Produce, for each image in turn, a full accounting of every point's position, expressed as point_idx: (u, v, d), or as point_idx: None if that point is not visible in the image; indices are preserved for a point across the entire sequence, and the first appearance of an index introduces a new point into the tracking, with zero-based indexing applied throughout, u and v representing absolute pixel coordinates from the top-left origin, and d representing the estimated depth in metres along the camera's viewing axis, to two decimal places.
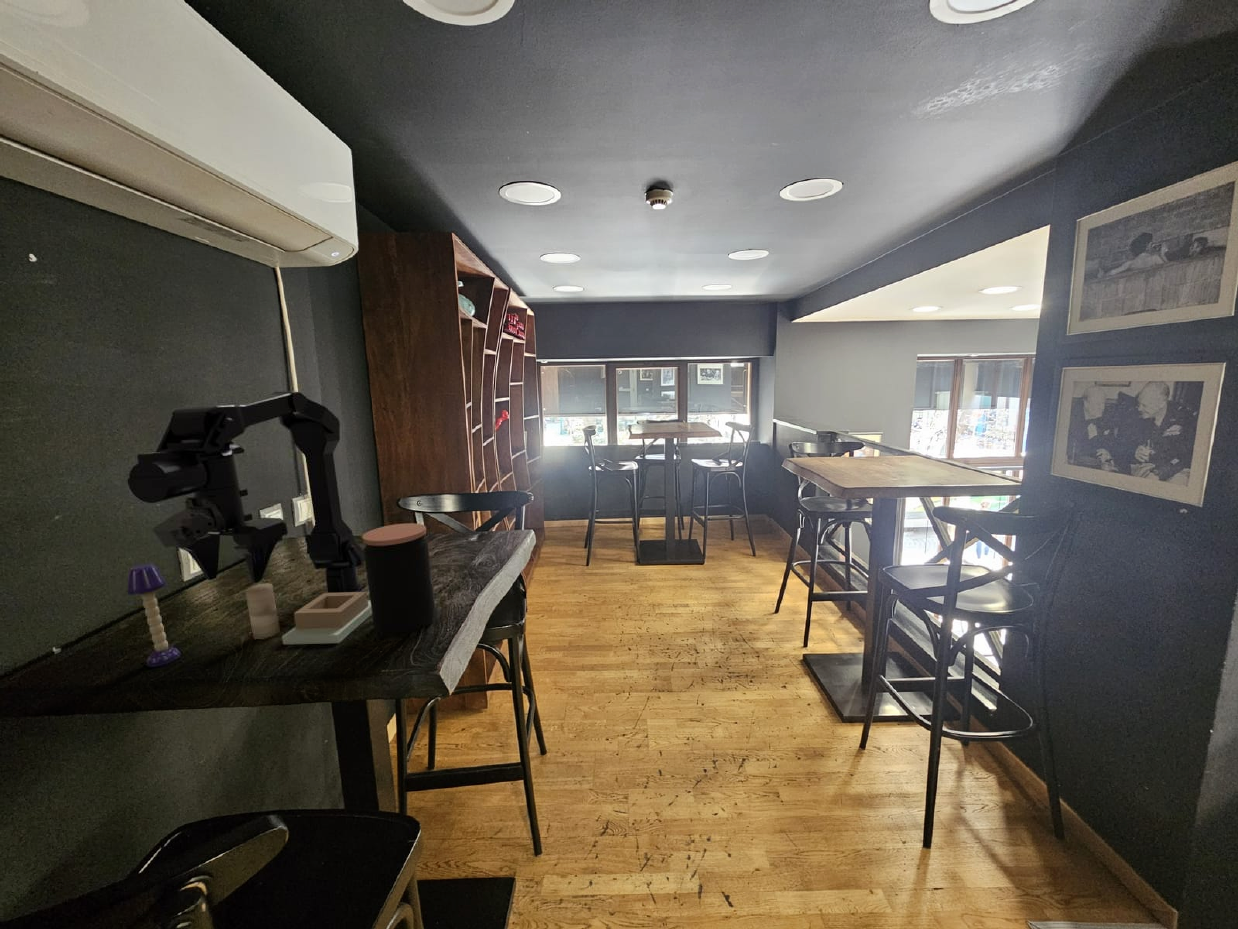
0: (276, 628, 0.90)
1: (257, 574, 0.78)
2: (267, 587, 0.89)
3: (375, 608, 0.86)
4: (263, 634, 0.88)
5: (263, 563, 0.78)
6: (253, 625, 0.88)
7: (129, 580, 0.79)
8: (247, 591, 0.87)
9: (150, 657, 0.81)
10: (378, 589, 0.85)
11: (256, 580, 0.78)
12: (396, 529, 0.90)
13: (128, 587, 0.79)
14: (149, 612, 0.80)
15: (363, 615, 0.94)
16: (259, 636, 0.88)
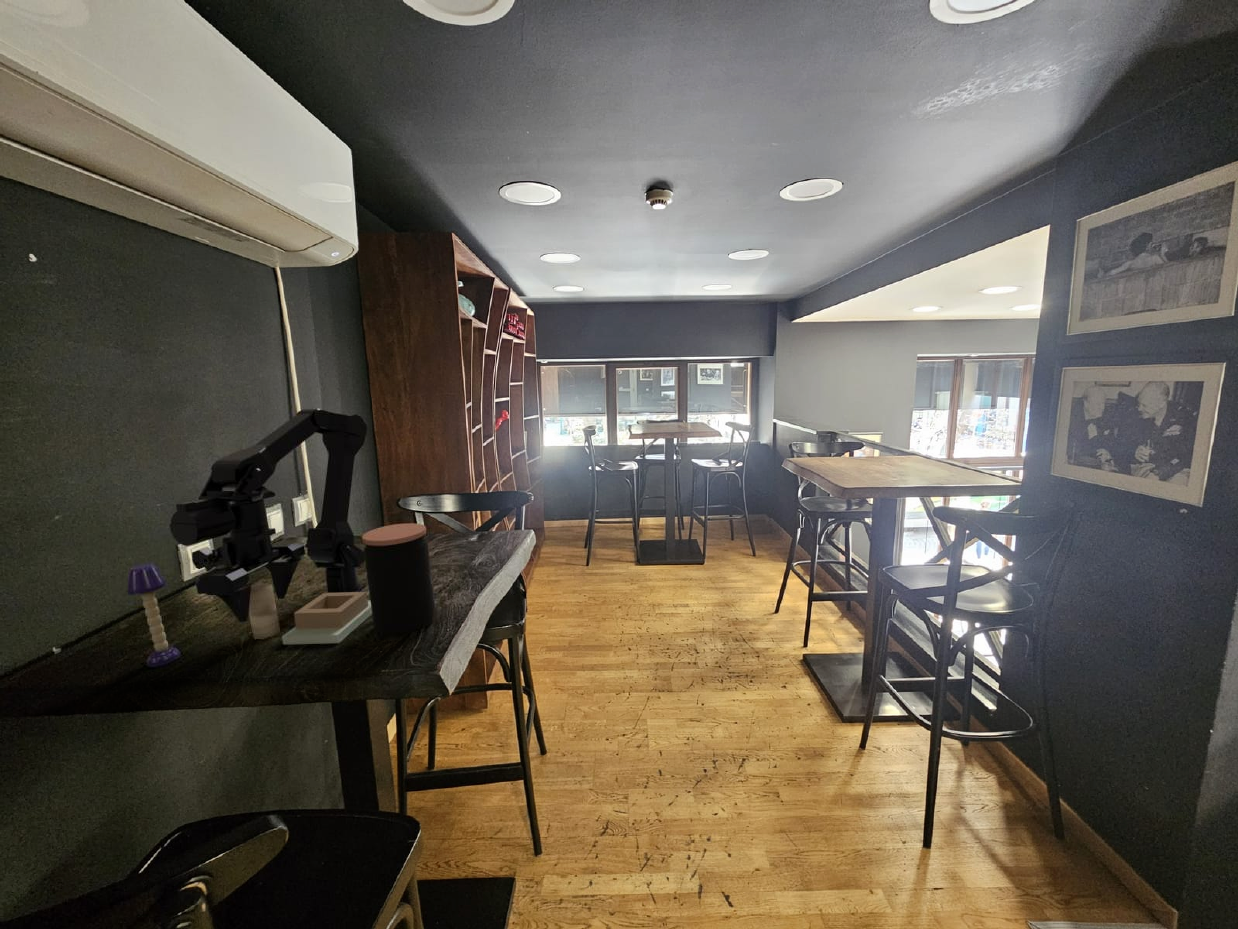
0: (276, 628, 0.90)
1: (238, 615, 0.84)
2: (267, 587, 0.89)
3: (375, 608, 0.86)
4: (263, 634, 0.88)
5: (239, 608, 0.83)
6: (253, 625, 0.88)
7: (129, 580, 0.79)
8: None
9: (150, 657, 0.81)
10: (378, 589, 0.85)
11: (239, 620, 0.85)
12: (396, 529, 0.90)
13: (128, 587, 0.79)
14: (149, 612, 0.80)
15: (363, 615, 0.94)
16: (259, 636, 0.88)
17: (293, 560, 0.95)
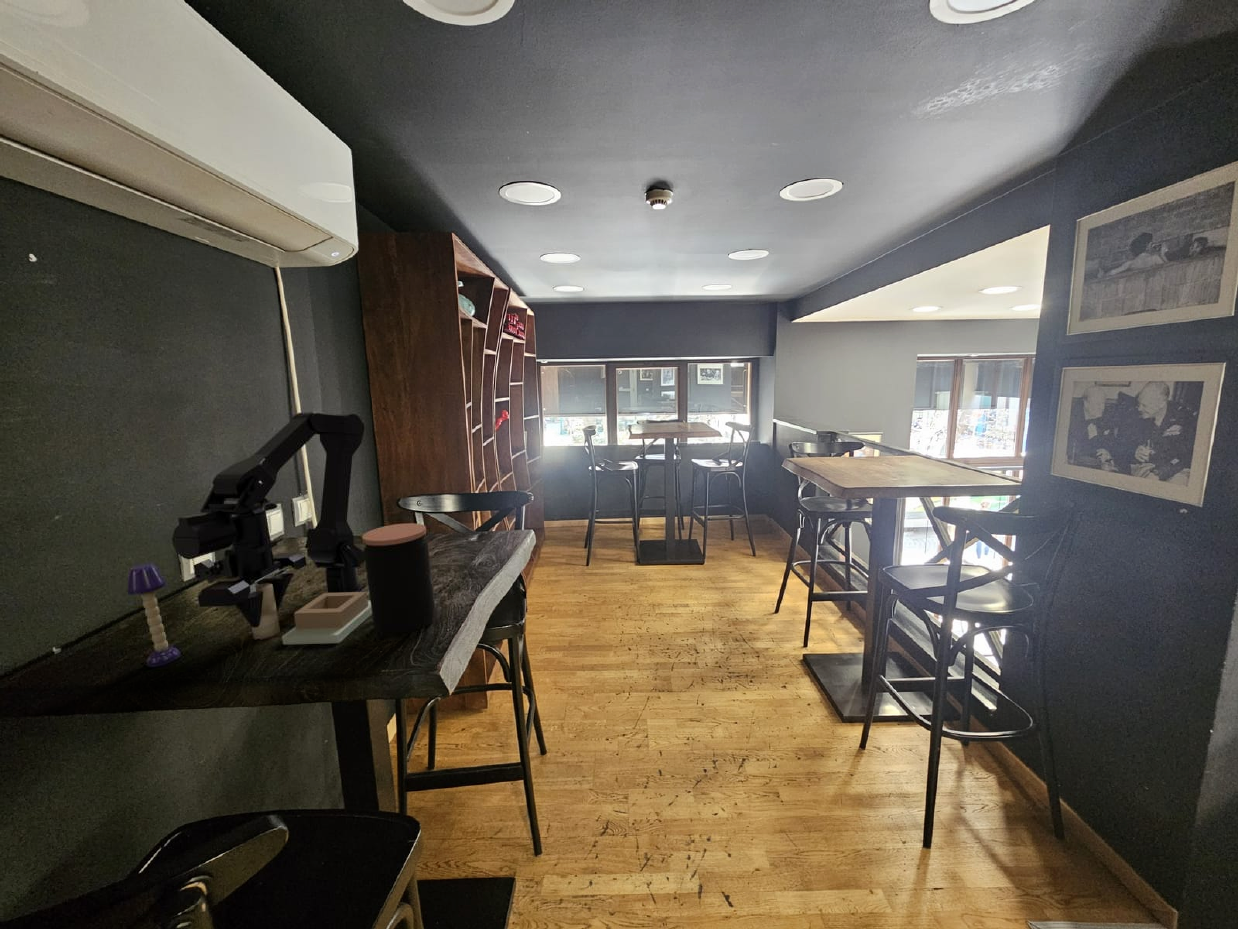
0: (276, 628, 0.90)
1: (250, 621, 0.87)
2: (267, 587, 0.89)
3: (375, 608, 0.86)
4: (263, 634, 0.88)
5: (252, 614, 0.86)
6: None
7: (129, 580, 0.79)
8: None
9: (150, 657, 0.81)
10: (378, 589, 0.85)
11: (252, 625, 0.87)
12: (396, 529, 0.90)
13: (128, 587, 0.79)
14: (149, 612, 0.80)
15: (363, 615, 0.94)
16: (259, 636, 0.88)
17: (286, 576, 0.92)
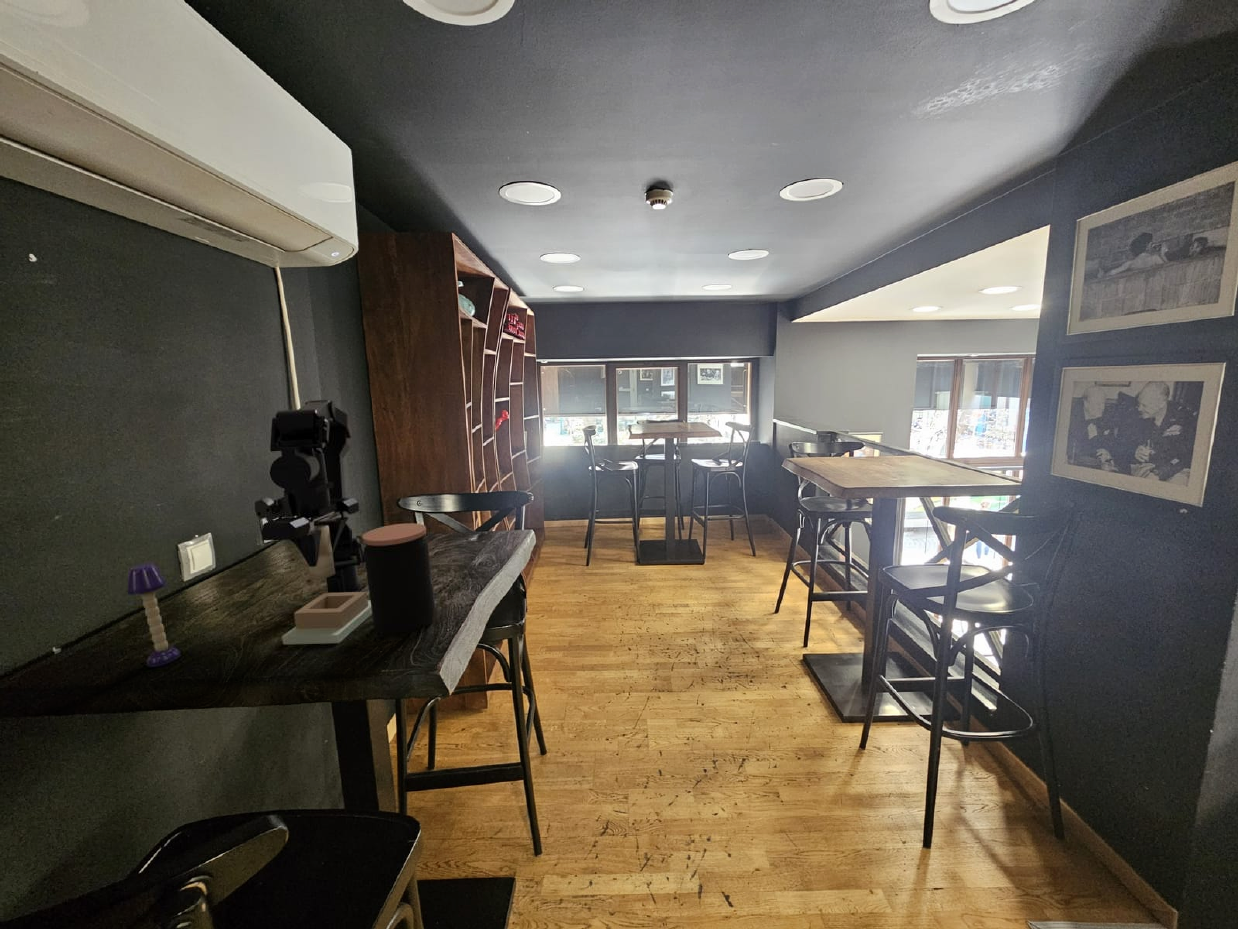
0: (332, 569, 0.91)
1: (308, 560, 0.88)
2: (324, 528, 0.89)
3: (375, 608, 0.86)
4: (320, 574, 0.89)
5: (310, 552, 0.87)
6: None
7: (129, 580, 0.79)
8: None
9: (150, 657, 0.81)
10: (378, 589, 0.85)
11: (309, 564, 0.88)
12: (396, 529, 0.90)
13: (128, 587, 0.79)
14: (149, 612, 0.80)
15: (363, 615, 0.94)
16: (316, 576, 0.89)
17: (340, 519, 0.93)
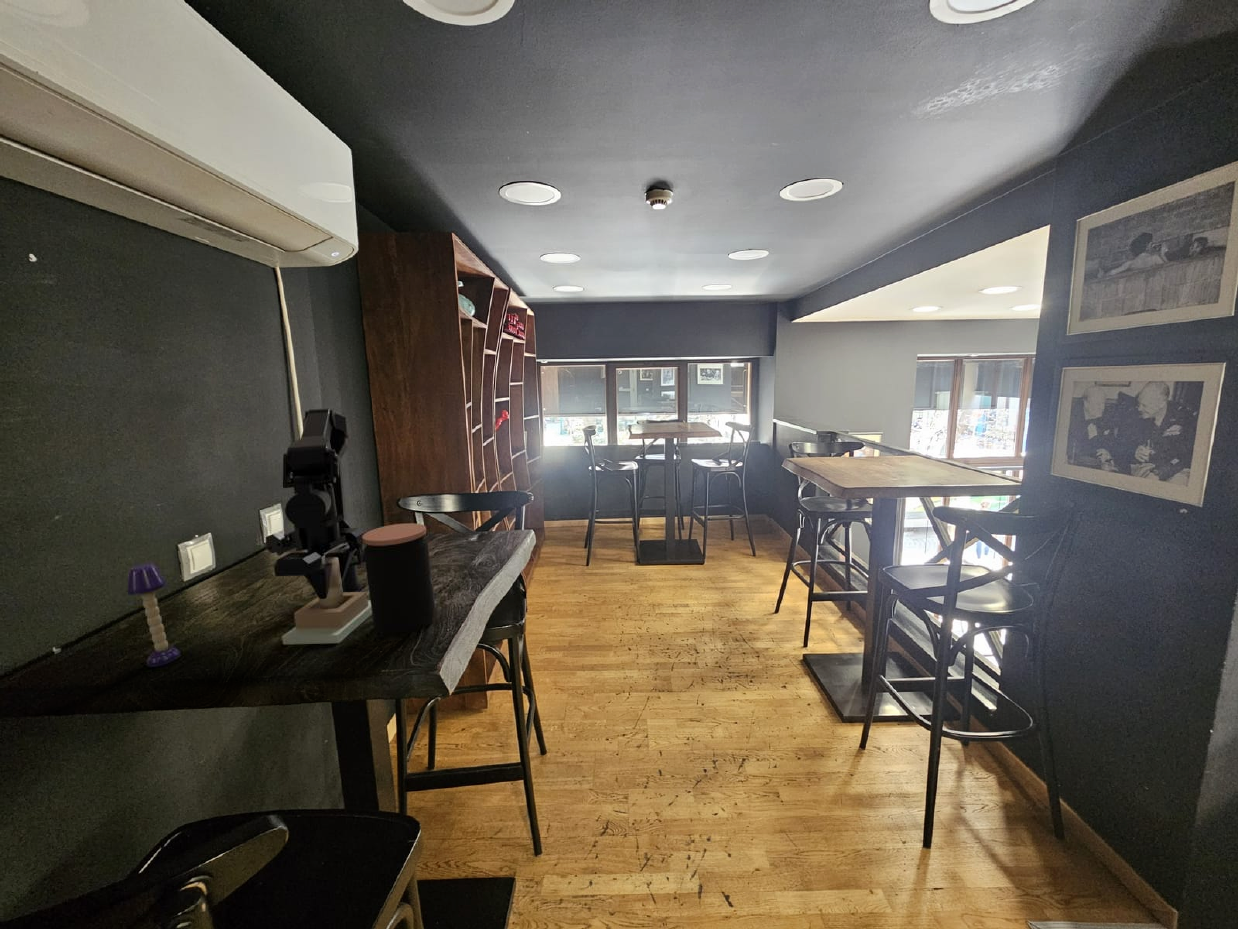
0: (342, 600, 0.92)
1: (319, 592, 0.89)
2: (334, 560, 0.91)
3: (375, 608, 0.86)
4: (330, 606, 0.90)
5: (321, 585, 0.88)
6: None
7: (129, 580, 0.79)
8: None
9: (150, 657, 0.81)
10: (378, 589, 0.85)
11: (320, 597, 0.89)
12: (396, 529, 0.90)
13: (128, 587, 0.79)
14: (149, 612, 0.80)
15: (363, 615, 0.94)
16: (326, 608, 0.90)
17: (349, 550, 0.94)
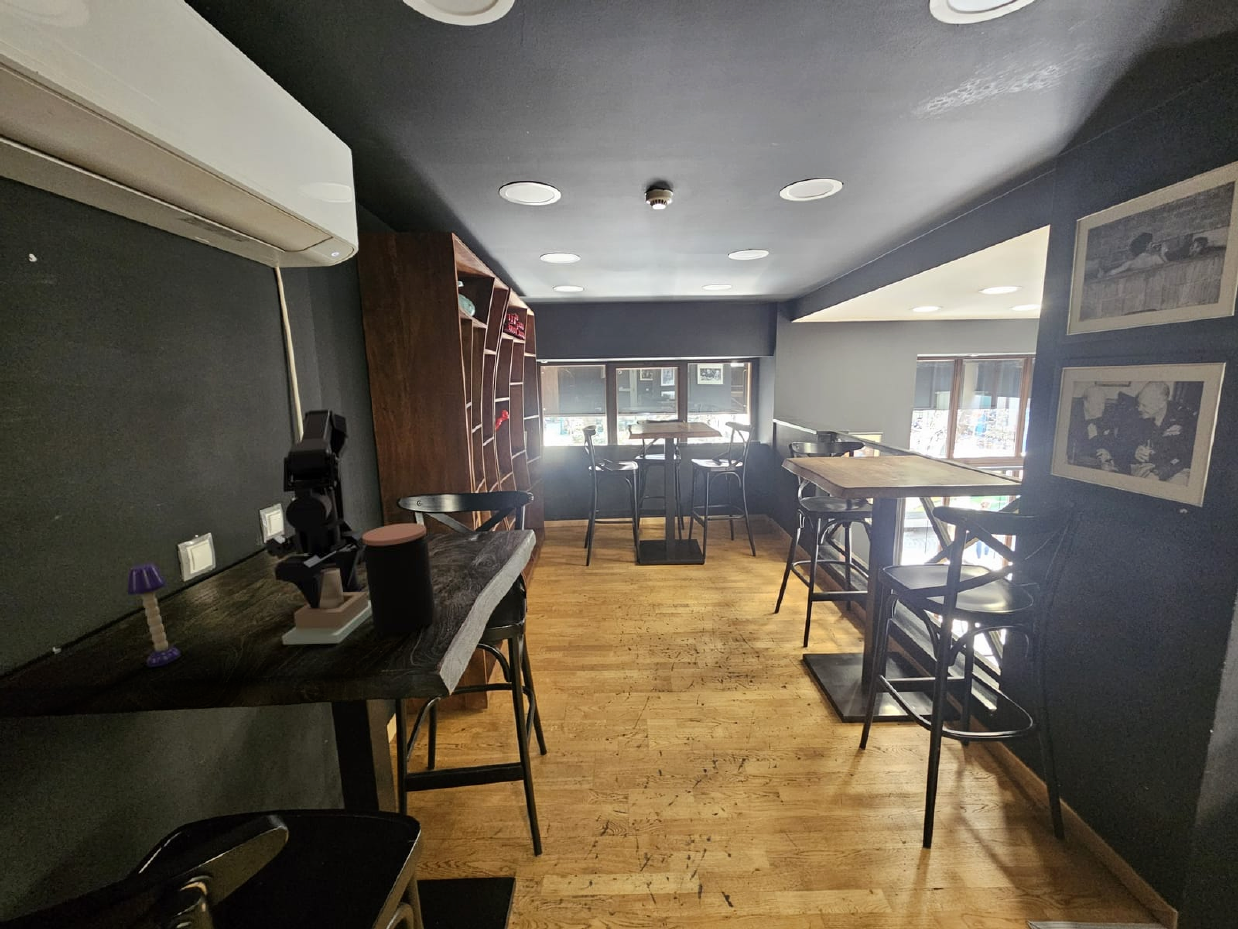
0: None
1: (310, 602, 0.86)
2: (335, 571, 0.91)
3: (375, 608, 0.86)
4: None
5: (313, 595, 0.86)
6: (322, 608, 0.90)
7: (129, 580, 0.79)
8: None
9: (150, 657, 0.81)
10: (378, 589, 0.85)
11: (311, 606, 0.87)
12: (396, 529, 0.90)
13: (128, 587, 0.79)
14: (149, 612, 0.80)
15: (363, 615, 0.94)
16: None
17: (356, 549, 0.97)
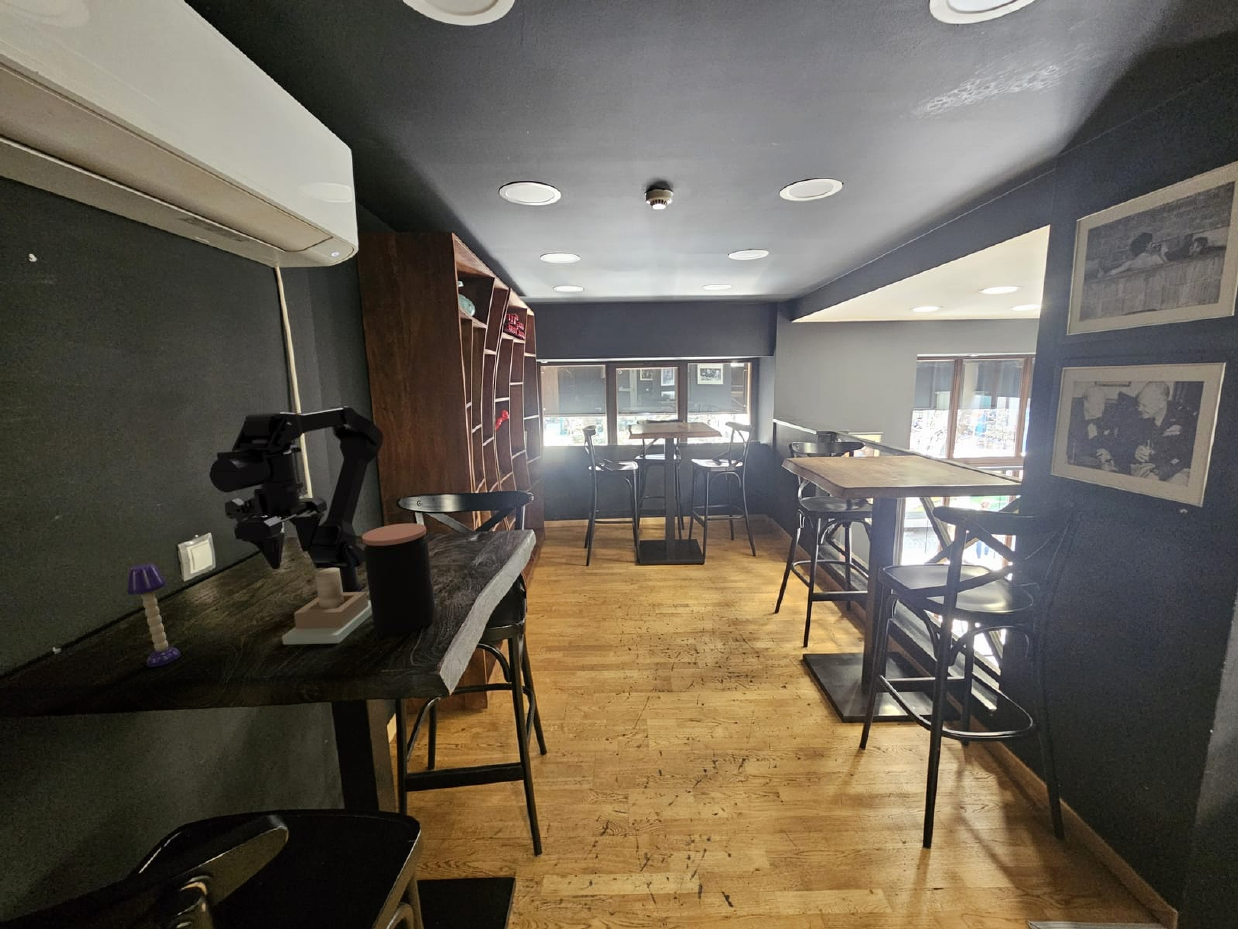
0: None
1: (271, 562, 0.88)
2: (335, 571, 0.91)
3: (375, 608, 0.86)
4: None
5: (273, 555, 0.88)
6: (322, 608, 0.90)
7: (129, 580, 0.79)
8: (317, 574, 0.90)
9: (150, 657, 0.81)
10: (378, 589, 0.85)
11: (272, 567, 0.89)
12: (396, 529, 0.90)
13: (128, 587, 0.79)
14: (149, 612, 0.80)
15: (363, 615, 0.94)
16: None
17: (317, 515, 0.99)
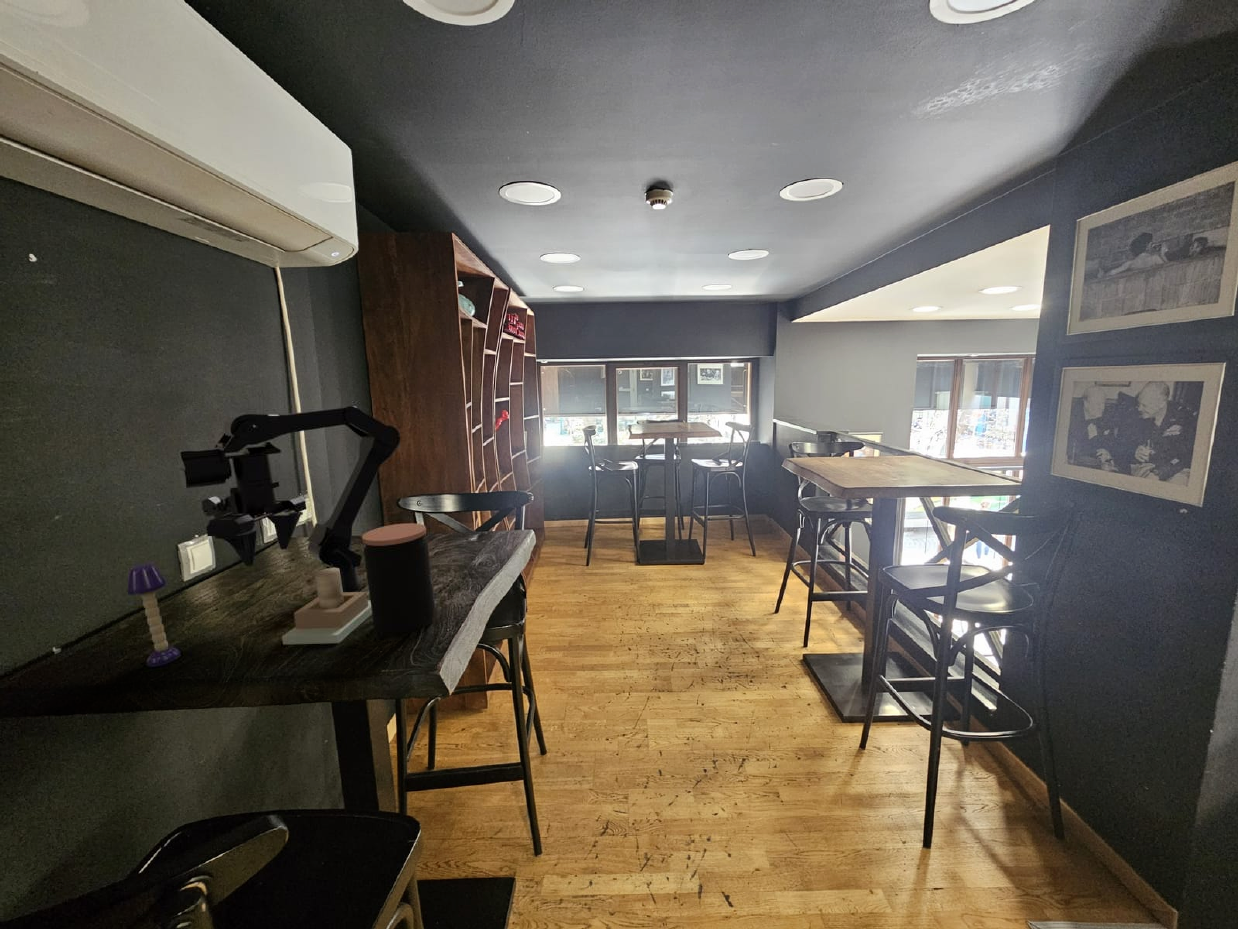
0: None
1: (244, 559, 0.91)
2: (335, 571, 0.91)
3: (375, 608, 0.86)
4: None
5: (246, 552, 0.90)
6: (322, 608, 0.90)
7: (129, 580, 0.79)
8: (317, 574, 0.90)
9: (150, 657, 0.81)
10: (378, 589, 0.85)
11: (245, 564, 0.91)
12: (396, 529, 0.90)
13: (128, 587, 0.79)
14: (149, 612, 0.80)
15: (363, 615, 0.94)
16: None
17: (295, 514, 1.01)
